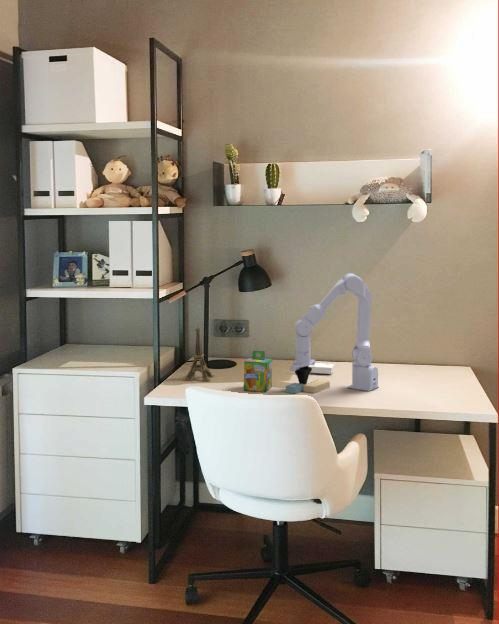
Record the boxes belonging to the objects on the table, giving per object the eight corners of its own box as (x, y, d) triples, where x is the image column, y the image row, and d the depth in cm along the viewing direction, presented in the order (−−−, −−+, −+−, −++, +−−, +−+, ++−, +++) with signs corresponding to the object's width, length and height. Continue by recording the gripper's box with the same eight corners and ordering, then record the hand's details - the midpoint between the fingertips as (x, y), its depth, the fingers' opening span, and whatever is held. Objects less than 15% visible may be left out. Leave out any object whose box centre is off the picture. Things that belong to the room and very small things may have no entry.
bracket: (300, 374, 321) (300, 356, 319) (303, 370, 327) (303, 353, 326) (331, 376, 317) (331, 358, 316) (334, 372, 324) (334, 354, 323)
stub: (303, 390, 292) (303, 383, 292) (294, 393, 288) (294, 387, 287) (294, 388, 295) (294, 382, 294) (285, 392, 290) (285, 385, 290)
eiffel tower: (189, 375, 319) (188, 315, 316) (214, 376, 318) (213, 316, 314) (183, 381, 309) (181, 319, 305) (208, 382, 307) (208, 320, 304)
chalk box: (243, 391, 292) (243, 353, 290) (249, 385, 301) (249, 348, 299) (267, 392, 290) (267, 354, 288) (272, 386, 299) (272, 349, 297)
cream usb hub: (329, 387, 297) (329, 381, 297) (314, 393, 288) (314, 386, 288) (318, 385, 300) (318, 379, 300) (303, 391, 291) (303, 384, 291)
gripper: (304, 347, 302) (304, 381, 304) (283, 353, 290) (283, 388, 292) (319, 349, 297) (319, 383, 299) (299, 355, 286) (299, 391, 288)
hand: (302, 386), depth 295 cm, fingers closed
